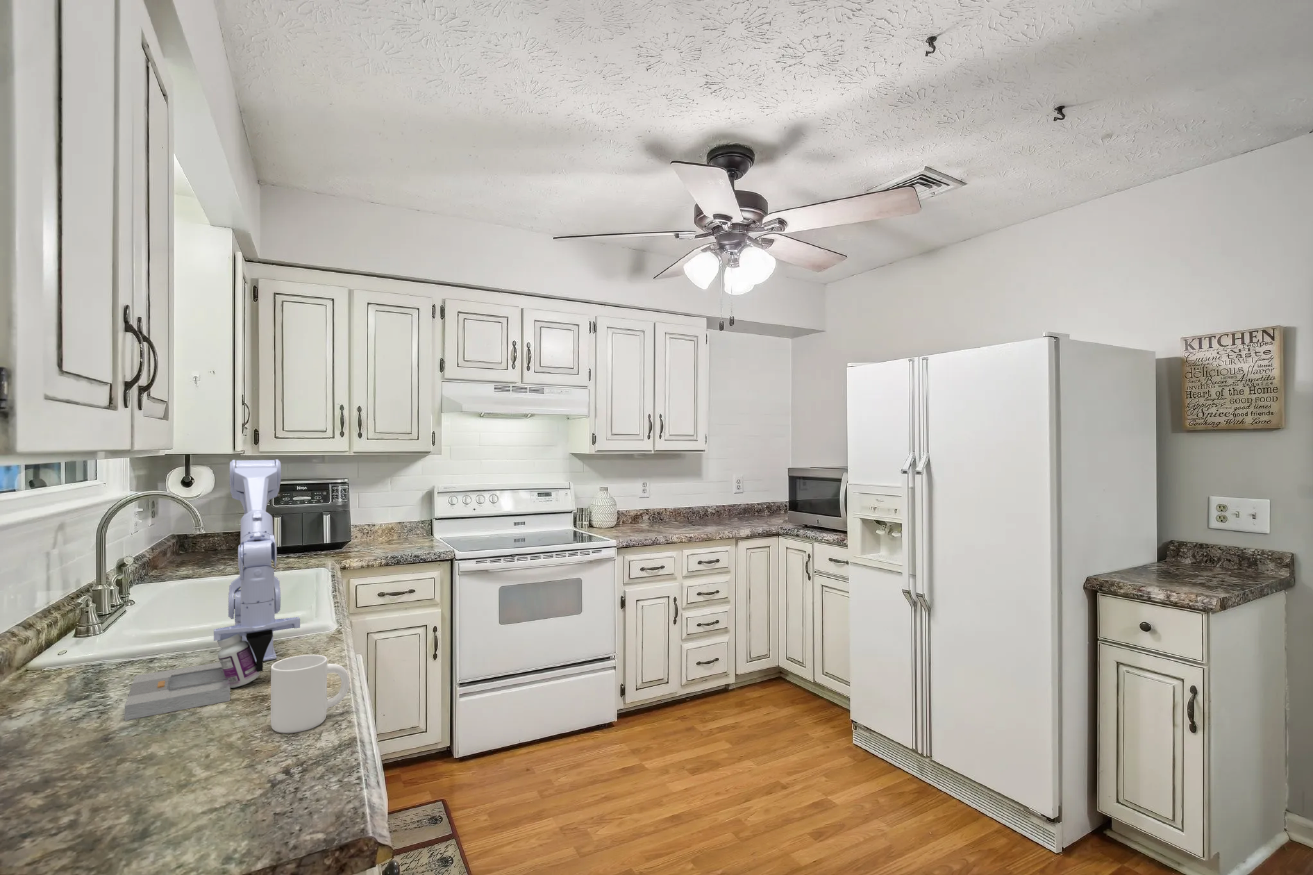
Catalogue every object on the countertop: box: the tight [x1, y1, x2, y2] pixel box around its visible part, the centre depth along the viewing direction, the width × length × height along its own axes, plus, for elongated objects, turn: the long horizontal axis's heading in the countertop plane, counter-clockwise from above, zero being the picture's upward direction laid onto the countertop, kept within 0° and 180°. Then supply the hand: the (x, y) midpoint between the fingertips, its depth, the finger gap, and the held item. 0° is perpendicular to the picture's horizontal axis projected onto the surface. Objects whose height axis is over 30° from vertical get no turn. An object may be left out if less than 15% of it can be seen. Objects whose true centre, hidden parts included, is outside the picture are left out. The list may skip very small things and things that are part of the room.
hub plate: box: [124, 661, 231, 721], centre depth 121 cm, size 18×15×3 cm
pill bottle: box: [216, 633, 260, 689], centre depth 126 cm, size 5×5×10 cm
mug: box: [270, 654, 351, 734], centre depth 110 cm, size 12×8×10 cm
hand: (258, 670), depth 127 cm, fingers closed, pressing on pill bottle
